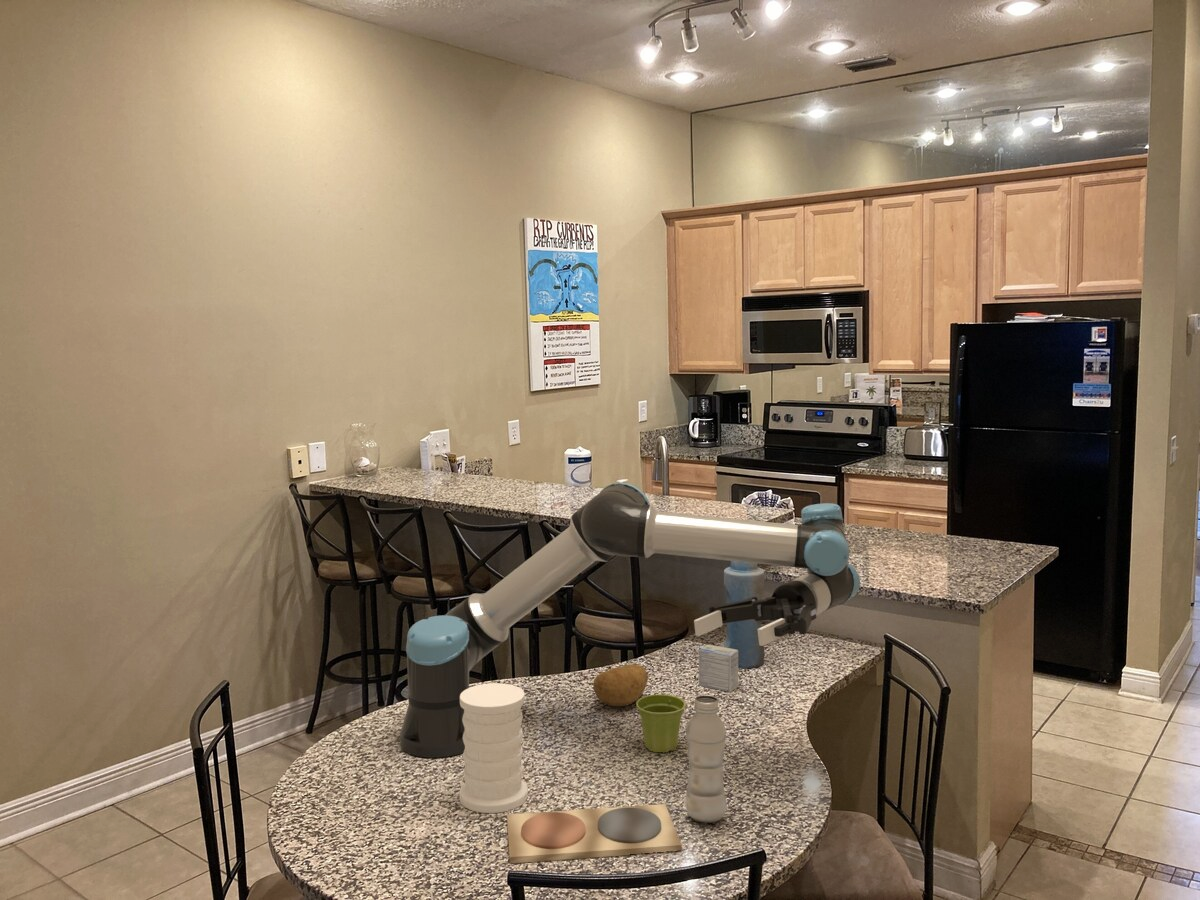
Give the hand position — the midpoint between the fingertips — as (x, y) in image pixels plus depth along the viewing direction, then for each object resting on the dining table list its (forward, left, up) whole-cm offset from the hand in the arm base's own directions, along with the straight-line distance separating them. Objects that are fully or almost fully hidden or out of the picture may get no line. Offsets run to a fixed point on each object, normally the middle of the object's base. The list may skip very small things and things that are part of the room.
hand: (727, 632), depth 158 cm
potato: (-11, +44, -29) cm, 54 cm away
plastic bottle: (-5, -7, -29) cm, 30 cm away
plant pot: (-7, +21, -29) cm, 36 cm away
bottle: (+22, +66, -29) cm, 75 cm away
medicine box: (+12, +51, -29) cm, 60 cm away
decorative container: (-39, +5, -29) cm, 49 cm away
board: (-24, -10, -29) cm, 39 cm away
